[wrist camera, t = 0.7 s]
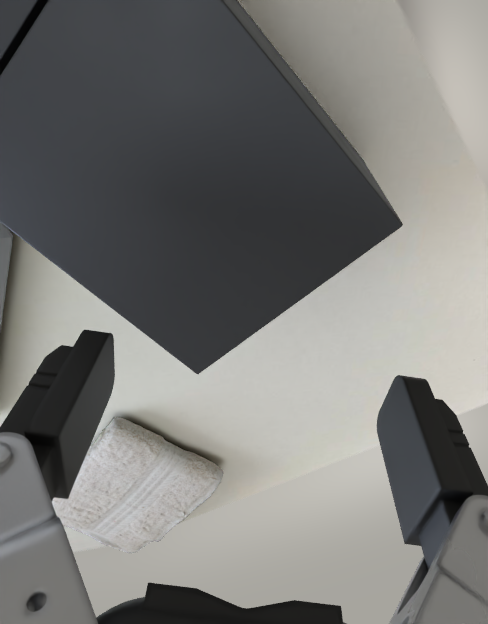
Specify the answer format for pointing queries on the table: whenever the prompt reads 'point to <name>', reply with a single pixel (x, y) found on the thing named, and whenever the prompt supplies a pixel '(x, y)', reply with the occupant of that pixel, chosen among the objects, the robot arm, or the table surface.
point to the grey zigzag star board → (4, 263)
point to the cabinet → (179, 169)
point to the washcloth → (135, 487)
